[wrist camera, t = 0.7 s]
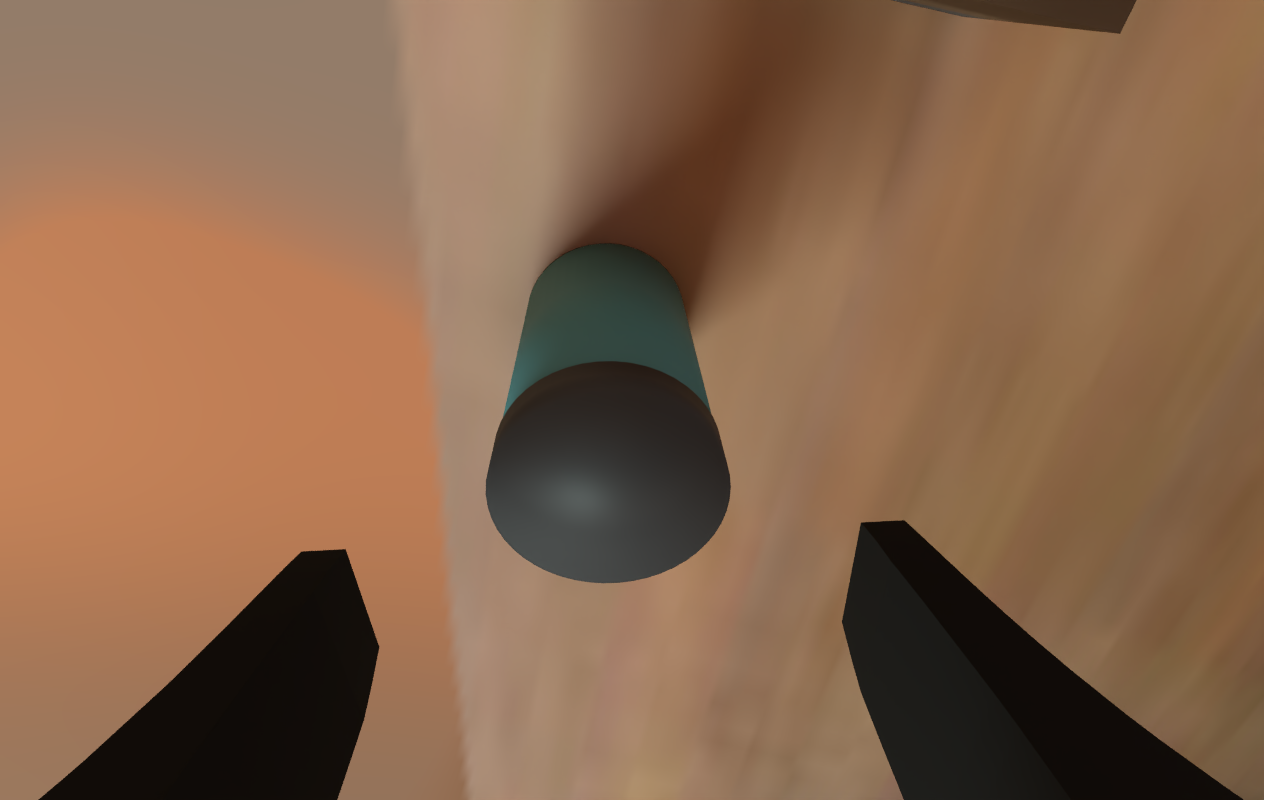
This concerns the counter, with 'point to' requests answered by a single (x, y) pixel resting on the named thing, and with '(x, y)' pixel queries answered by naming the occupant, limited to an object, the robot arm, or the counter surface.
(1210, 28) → the counter surface
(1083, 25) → the socket
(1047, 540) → the counter surface
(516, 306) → the counter surface
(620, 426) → the peg
